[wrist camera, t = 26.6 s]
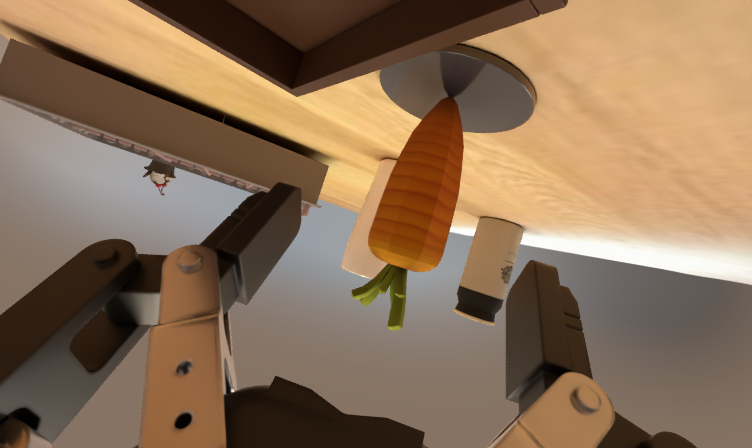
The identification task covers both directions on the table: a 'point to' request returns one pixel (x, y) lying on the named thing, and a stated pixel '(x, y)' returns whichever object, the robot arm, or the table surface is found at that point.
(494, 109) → the metal coaster
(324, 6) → the tray
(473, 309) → the travel mug
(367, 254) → the drinking glass
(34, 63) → the organizer tray
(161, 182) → the sundae
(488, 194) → the table surface
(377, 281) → the carrot
